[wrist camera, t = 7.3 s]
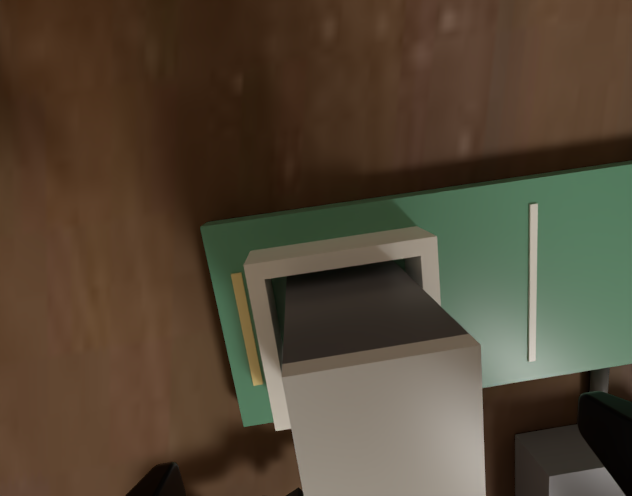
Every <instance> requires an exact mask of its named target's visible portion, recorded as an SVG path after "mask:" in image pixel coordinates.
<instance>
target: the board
mask: <svg viewBox="0 0 632 496" xmlns="http://www.w3.org/2000/svg"><path fill="white" fill-rule="evenodd" d="M200 230H201V234H202V239H203V243H204V248H205V252H206V257H207V261H208V266H209V271H210V275H211V280H212V284H213V289H214V293H215V298H216V303H217V307H218V312H219V316H220V321H221V325H222V330H223V334H224V339H225V344H226V348H227V353H228V357H229V362H230V366H231V371H232V376H233V380H234V385H235V389H236V394H237V398H238V403H239V407H240V412H241V417H242V421H243V426H244V427H247V426H253V425H259V424H265V423H271V422H274V425H275V430H276V431H280V430H286V429H291V425H290V419H289V414H288V409H287V403H286V398H285V393H284V387H283V382H282V361H283V341H284V321H285V301H286V281H287V276H291V275H297V274H304V273H310V272H317V271H324V270H330V269H337V268H344V267H350V266H357V265H363V264H370V263H377V262H383V261H390V260H393V261H394V262H395V263H396V264H397V265H399V266H400V267H401V268H402V269H403V270H404V271H405V272H406V273H407V274H408V275H409V276H410V277H411V278H412V279H413V280H414V281H415V282H416V283H417V284H418V285H419V286H420V287H421V288H422V289H423V290H424V291H425V292H426V293H428V294H429V295H430V296H431V297H432V298H433V299H434V300H435V301H436V302H437V303H438V304H439V305H440V306H441V307H442V308H443V309H444V310H445V311H446V312H447V313H448V314H449V315H450V316H451V317H452V318H453V319H454V320H455V321H457V322H458V323H459V324H460V325H461V326H462V327H463V328H464V329H465V330H466V331H467V332H468V333H469V334H470V335H471V336H472V337H473V338H474V339H475V340H476V341H477V342H478V343H479V344H480V345H481V367H482V388H486V387H492V386H498V385H504V384H510V383H516V382H522V381H528V380H535V379H541V378H547V377H553V376H559V375H565V374H571V373H577V372H584V371H590V370H596V369H602V368H608V367H614V366H620V365H626V364H632V160H631V161H624V162H617V163H610V164H603V165H596V166H589V167H582V168H575V169H569V170H562V171H555V172H548V173H541V174H534V175H527V176H520V177H513V178H507V179H500V180H493V181H486V182H479V183H472V184H465V185H458V186H451V187H444V188H438V189H431V190H424V191H417V192H410V193H403V194H396V195H389V196H382V197H376V198H369V199H362V200H355V201H348V202H341V203H334V204H327V205H320V206H314V207H307V208H300V209H293V210H286V211H279V212H272V213H265V214H258V215H252V216H245V217H238V218H231V219H224V220H217V221H210V222H206V223H205V224H204V225H202V226H201V227H200Z"/></svg>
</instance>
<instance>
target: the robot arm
mask: <svg viewBox="0 0 632 496" xmlns="http://www.w3.org/2000/svg"><path fill="white" fill-rule="evenodd" d="M577 425H578V429H579V432H580V434H581V436H582V437H583V439H584V440H585V441H586V443H587V444H588V445H589V447H590V448H591V449H592V451H593V452H594V453H595V455H596V456H597V458H598V459H599V460H600V462H601V463H602V464H603V466H604V467H605V468H606V470H607V471H608V472H609V474H610V475H611V476H612V478H613V479H614V481H615V482H616V483H617V485H618V486H619V487H620V489H621V490H622V491H623V493H624V494H625V495H626V496H632V402H630V401H627V400H624V399H621V398H619V397H616V396H613V395H611V394H608V393H605V392H602V391H594V392H588V393H583V394H581V395H580V397H579V400H578V419H577ZM126 496H186V493H185V488H184V485H183V481H182V478H181V474H180V471H179V467H178V465H177V464H176V463H175V462H169V463H163V464H158V465H156V466H155V467H153V468H152V469H151V470H150V471H149V472H148V473H147V474H146V475H145V476H144V477H143V478H142V479H141V480H140V481H139V482H138V484H137V485H136V486H135V487H134V488H133V489H132V490H131V491H130V492H129V493H128V494H127V495H126Z"/></svg>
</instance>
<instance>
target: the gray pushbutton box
mask: <svg viewBox="0 0 632 496" xmlns="http://www.w3.org/2000/svg"><path fill="white" fill-rule="evenodd" d="M609 369H610V367H608V368H602V369H596V370H591V372H590V390H589V392H594V391H602V392H605V393H608V383H609ZM515 496H626V495H625V494H624V493H623V491H622V490H621V489H620V487H619V486H618V485H617V483H616V482H615V481H614V479H613V478H612V476H611V475H610V474H609V472H608V471H607V470H606V468H605V467H604V466H603V464H602V463H601V462H600V460H599V459H598V458H597V456H596V455H595V453H594V452H593V451H592V449H591V448H590V447H589V445H588V444H587V443H586V441H585V440H584V439H583V437H582V436H581V434H580V432H579V429H578V425H577V424H575V425H569V426H563V427H557V428H551V429H545V430H539V431H533V432H527V433H521V434H515Z"/></svg>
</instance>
